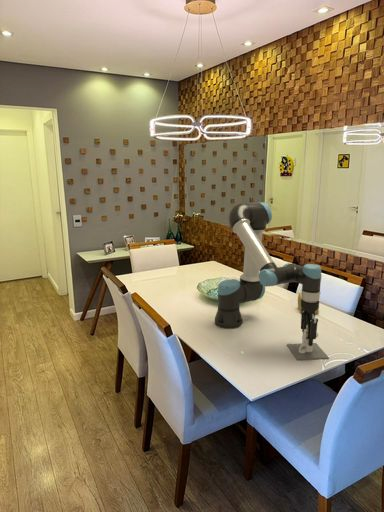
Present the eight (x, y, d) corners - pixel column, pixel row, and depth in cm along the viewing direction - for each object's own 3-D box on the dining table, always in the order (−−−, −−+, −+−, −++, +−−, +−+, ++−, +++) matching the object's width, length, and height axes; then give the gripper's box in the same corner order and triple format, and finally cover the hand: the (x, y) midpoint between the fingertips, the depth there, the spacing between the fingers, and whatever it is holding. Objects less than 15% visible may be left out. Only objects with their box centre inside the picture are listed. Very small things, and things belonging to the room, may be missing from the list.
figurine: (295, 350, 159) (297, 326, 156) (309, 345, 164) (311, 321, 161) (303, 355, 155) (306, 330, 152) (317, 349, 160) (320, 325, 157)
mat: (297, 360, 152) (297, 359, 152) (286, 345, 166) (286, 344, 166) (328, 358, 153) (329, 357, 153) (315, 344, 167) (315, 342, 167)
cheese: (318, 315, 201) (319, 298, 199) (298, 313, 204) (299, 297, 201) (315, 308, 211) (316, 292, 209) (297, 307, 213) (298, 291, 211)
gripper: (327, 306, 146) (323, 358, 151) (310, 293, 163) (307, 339, 168) (309, 307, 146) (306, 358, 151) (295, 293, 162) (292, 340, 167)
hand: (307, 348), depth 159 cm, fingers closed on figurine, 4 cm apart
